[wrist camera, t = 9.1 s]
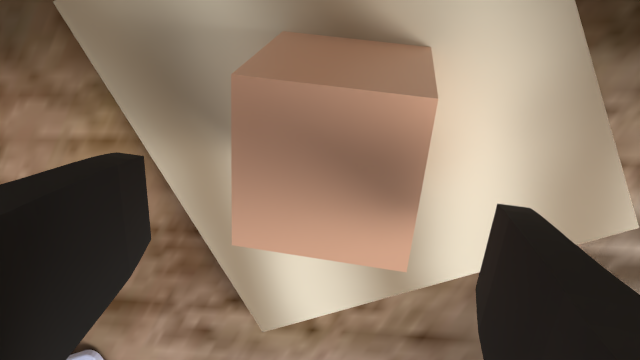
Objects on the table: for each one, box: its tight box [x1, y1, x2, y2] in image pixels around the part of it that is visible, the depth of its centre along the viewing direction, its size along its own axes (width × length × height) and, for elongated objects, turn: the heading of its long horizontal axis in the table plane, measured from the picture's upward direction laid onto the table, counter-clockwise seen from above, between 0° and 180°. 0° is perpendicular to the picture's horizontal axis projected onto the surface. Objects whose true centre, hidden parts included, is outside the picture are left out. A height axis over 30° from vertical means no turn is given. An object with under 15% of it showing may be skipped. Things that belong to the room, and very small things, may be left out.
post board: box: [53, 0, 639, 332], centre depth 16 cm, size 14×14×4 cm
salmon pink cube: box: [231, 31, 438, 272], centre depth 14 cm, size 4×4×5 cm
